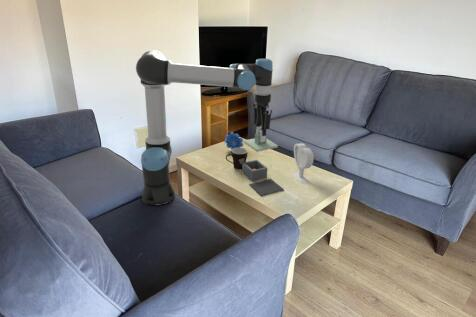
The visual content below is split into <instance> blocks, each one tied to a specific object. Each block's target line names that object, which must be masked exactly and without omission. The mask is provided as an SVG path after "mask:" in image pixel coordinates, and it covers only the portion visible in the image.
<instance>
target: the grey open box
mask: <svg viewBox="0 0 476 317" xmlns="http://www.w3.org/2000/svg"><path fill="white" fill-rule="evenodd" d="M253 169H256V170H253ZM241 173H242V174H243V175H244V177H246V178H247V179H248V180H249V181H251V182H253V183H254V182H258V181H262V180H266V179H267V178H268V167H267V166H266V165H264V164H263V163H262V162H261V161H260V160H258V159H254V160H249V161H246V162H244V163H242V170H241Z"/></svg>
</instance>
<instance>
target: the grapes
mask: <svg viewBox="0 0 476 317" xmlns="http://www.w3.org/2000/svg"><path fill="white" fill-rule="evenodd" d="M223 141H224V143H225V144H226V148H227V149H231V151H232V150H233V149H234V148H244V139H243V137H240V134H239V133H234V132H229V134H225V139H224V140H223Z"/></svg>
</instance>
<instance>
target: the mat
mask: <svg viewBox="0 0 476 317" xmlns="http://www.w3.org/2000/svg"><path fill="white" fill-rule="evenodd" d="M248 185H249V187H251V189H253V190H254V191H255V192H256V193H257V194H258V195H259V196H260V197H264V196H268V195H271V194H275V193H276V194H277V193H278V192H283V191H285V189H284V188H283V187H282V186H281V185H279V184H278V183H277V182H276V181H274V180H273V179H272V178H269V179H263V180H259V181H255V182H253V183H249V184H248Z"/></svg>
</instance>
